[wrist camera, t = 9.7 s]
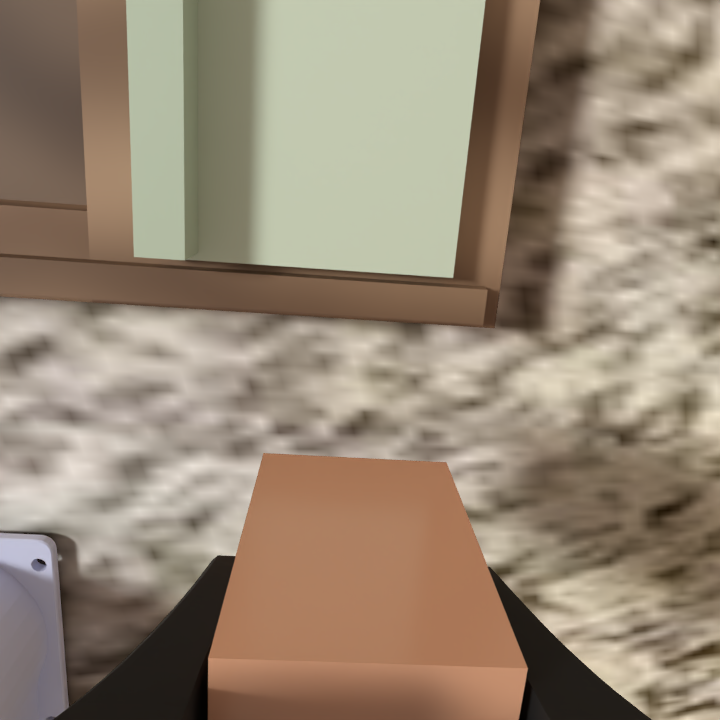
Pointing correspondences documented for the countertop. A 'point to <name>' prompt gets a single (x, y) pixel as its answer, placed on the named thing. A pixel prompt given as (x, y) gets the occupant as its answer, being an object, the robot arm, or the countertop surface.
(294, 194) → the cover
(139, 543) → the countertop surface
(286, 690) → the block
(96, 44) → the wooden tray
